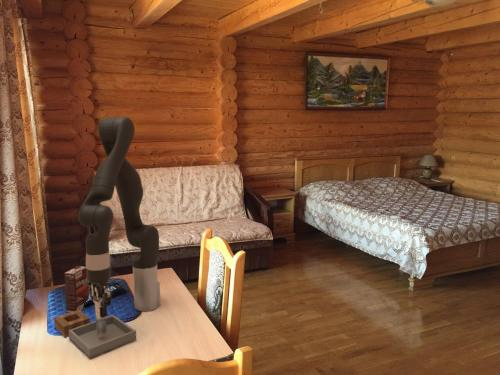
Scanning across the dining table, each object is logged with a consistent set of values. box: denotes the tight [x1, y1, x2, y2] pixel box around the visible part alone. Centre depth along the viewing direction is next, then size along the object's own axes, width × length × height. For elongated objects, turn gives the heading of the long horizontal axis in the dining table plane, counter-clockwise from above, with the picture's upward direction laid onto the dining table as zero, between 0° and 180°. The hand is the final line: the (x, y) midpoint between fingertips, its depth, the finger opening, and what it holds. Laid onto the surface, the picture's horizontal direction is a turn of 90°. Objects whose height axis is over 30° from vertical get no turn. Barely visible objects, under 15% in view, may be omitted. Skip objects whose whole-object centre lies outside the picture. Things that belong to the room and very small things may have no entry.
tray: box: [68, 314, 137, 360], centre depth 142 cm, size 16×16×4 cm
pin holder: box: [53, 310, 91, 338], centre depth 150 cm, size 9×9×4 cm
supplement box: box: [63, 265, 90, 313], centre depth 164 cm, size 9×5×16 cm, turn 168°
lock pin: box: [92, 294, 107, 334], centre depth 141 cm, size 4×4×13 cm
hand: (101, 314), depth 141 cm, fingers closed on lock pin, 3 cm apart
